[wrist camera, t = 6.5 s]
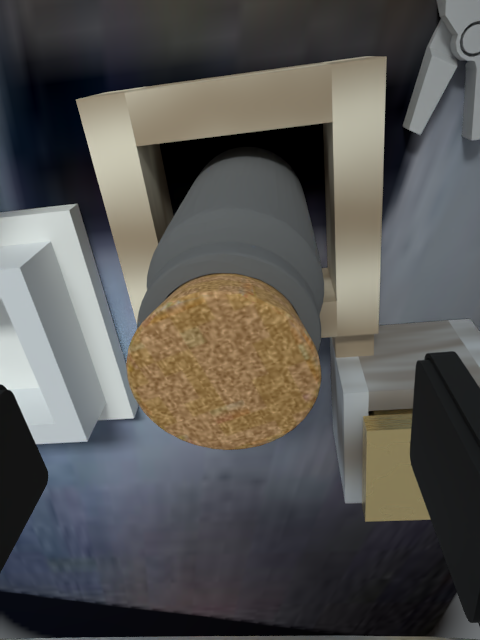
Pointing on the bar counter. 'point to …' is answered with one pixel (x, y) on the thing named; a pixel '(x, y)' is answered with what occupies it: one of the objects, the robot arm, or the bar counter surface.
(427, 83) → the pliers
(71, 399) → the cradle
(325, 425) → the bar counter surface
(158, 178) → the socket block
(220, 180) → the bottle
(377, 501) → the button
